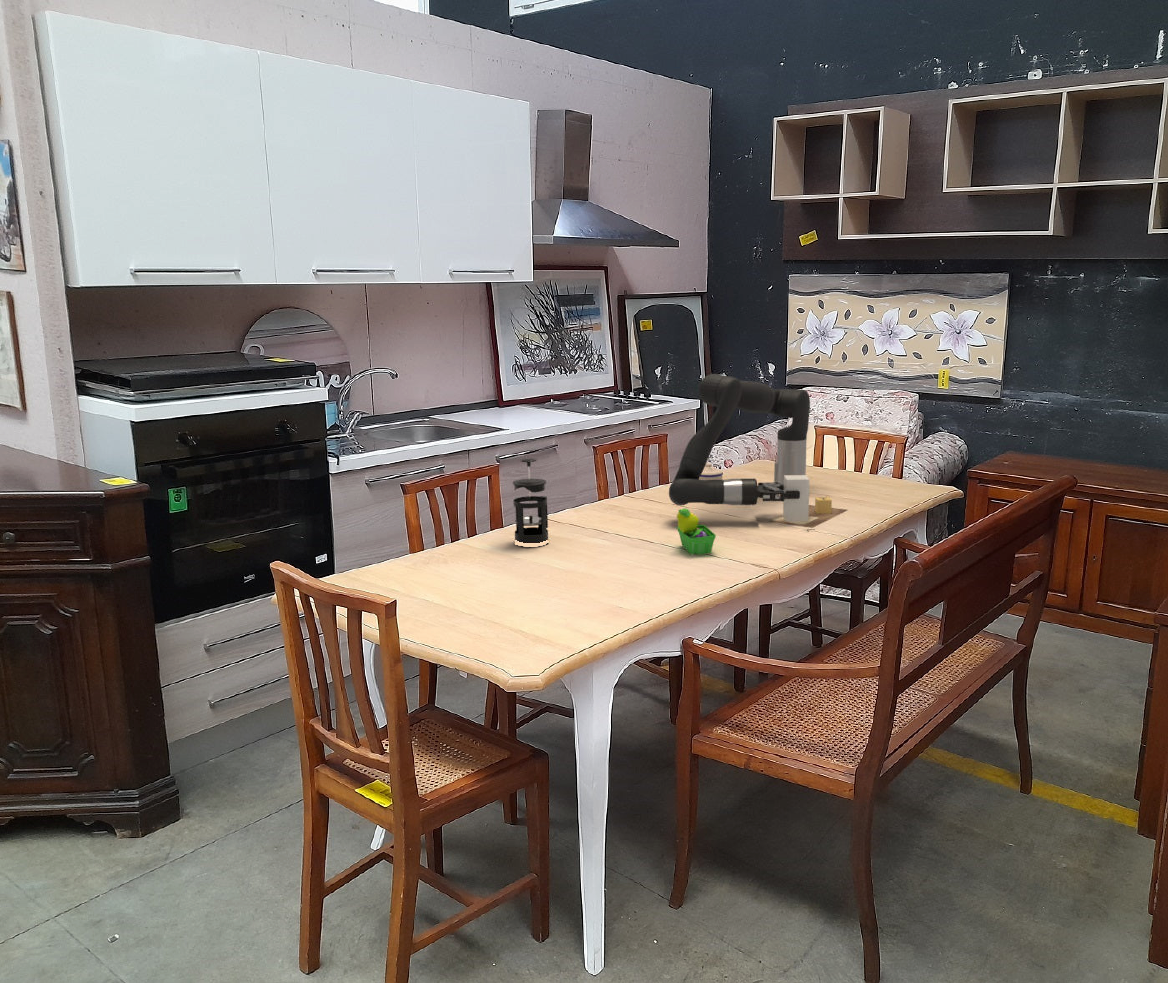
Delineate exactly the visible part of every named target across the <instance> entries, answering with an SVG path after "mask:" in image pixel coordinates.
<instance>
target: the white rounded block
mask: <svg viewBox="0 0 1168 983" xmlns="http://www.w3.org/2000/svg"><path fill="white" fill-rule="evenodd" d="M784 490H785V491H799V492H800V498H799V499H786V500H784V501H782V504H783V506H782V507H783V508H782V512H783V513H782V516H783V517H784V519H785V521H786V522H789V521H808V516H809V505H810V478H809V477H808V476H807V474H806V475H784Z"/></svg>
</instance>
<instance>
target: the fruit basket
mask: <svg viewBox="0 0 1168 983" xmlns="http://www.w3.org/2000/svg"><path fill="white" fill-rule="evenodd" d="M676 519H677V525H678V526H677V527H676V530H677V532H678V535H679V539H680V542H681V546H682V545H683V546H684V547H683V546H682V547H683V548H684V550H686V549H687V550H686V551H687V552H688V554H690V555H691V554H701V555H706V554H705V553H710V554H711V553H712V549H713V545H714V542H715V540H716V537H717V535H716V534H715V533H714V531H712V529H711V530H710V529H709V527H708V526H706V525H704V524H699V522H700V519H699V517H698V516H696V515H695V513H693V512H691V511H690V510H689V509H688V508H686V507H684V508H682V509H681V508H680V509H678V512H677V515H676Z"/></svg>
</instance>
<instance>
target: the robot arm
mask: <svg viewBox="0 0 1168 983" xmlns="http://www.w3.org/2000/svg"><path fill="white" fill-rule="evenodd" d="M698 395H699V397H700V399H701V401H702V402H703V403H704V404H707V405H708V406H711V407H712V406H713V407H716V410H715V412H714V414H713V415H712V416H711V419H709V420H708V421H707V422H706V424H705V425H703V426H702V427H701V428H700V429H699V430H698V431H697V432H695V434H694V435H692V437H691V438H690V439H689V441H688V443H687V445H686V447H685V450H684V452H683V455H682V457H681V460H680V462H679V468H678V470H677V472H676V475H675V476H674V479H673V481H672V482H671V484H670V486H669V489H668V497H669V499H670V501H671V502H672V503H673V504H675V505H676V506H685V505H688V504H692V503H693V504H694V503H695V504H698V503H699V504H700V503H702V504H707V505H728V506H756V505H757V504H758V499H762V502H783V501H784V500H786V499H799V498H800V492H799V491H785V490H784V475H806V476H807V470H806V469H807V435H808V431H809V423H810V422H809V420H810V411H811V410H810V409H811V400H810V399H811V398H810V396H809V395H810V394H809V393H808V392H807V391H806V390H804V389H794V388H792V389H791V388H777V389H774V388H772V387H771V386H770V385H768V384H766V383H762V382H758V381H751V380H740V379H739V378H736V377H733V376H728V375H723V374H719V373H711V374H708V375H706V376H704V377H703V378H702V379H701V380H700V382H699V386H698ZM736 409H739V410H741V411H745V412H748V413H749V412H750V413H756V414H765V413H770V414H772V415H775V416H777V417H779V418H780V417H781V418H787V419H792V420H791V424H790V425H789V426H787V427H783V428H780V429H778V431H777V442H776V443H777V444H776V445H777V447H776V448H777V449H776V450H777V453H776V455H777V456H776V461H775V462H774V466H773V467H774V473H773V474H774V476H773V477H774V478H773V482H757V481H758V480H757V479H756V478H727V479H722V480H699V477H700V475H701V474H702V472H703V470H704V468H705V465H706V463H708V461H709V457H710V456H711V452H712V451H713V448H714V446H715V444H716V442H717V440H718V438H719V437H720V435H721V434H722V432H723V430H724V429H725V428H726V425H727V424H728V422H729V420H730V418H731V416H733V413H734V412H735V410H736Z"/></svg>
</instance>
